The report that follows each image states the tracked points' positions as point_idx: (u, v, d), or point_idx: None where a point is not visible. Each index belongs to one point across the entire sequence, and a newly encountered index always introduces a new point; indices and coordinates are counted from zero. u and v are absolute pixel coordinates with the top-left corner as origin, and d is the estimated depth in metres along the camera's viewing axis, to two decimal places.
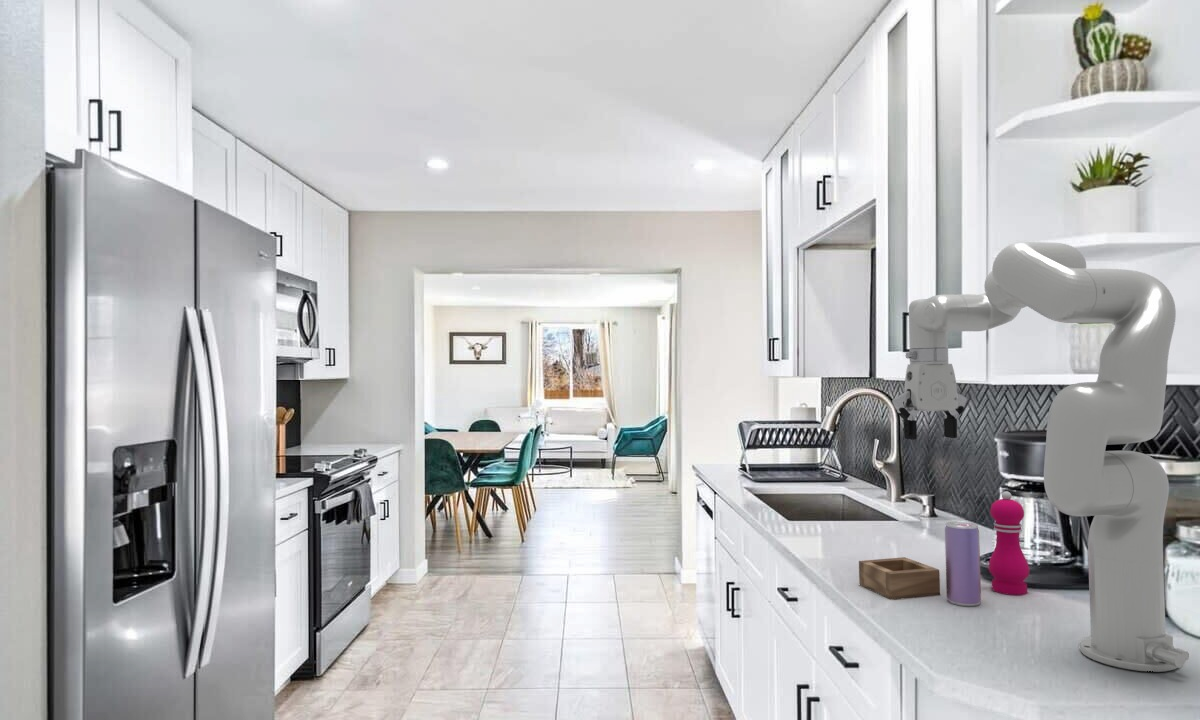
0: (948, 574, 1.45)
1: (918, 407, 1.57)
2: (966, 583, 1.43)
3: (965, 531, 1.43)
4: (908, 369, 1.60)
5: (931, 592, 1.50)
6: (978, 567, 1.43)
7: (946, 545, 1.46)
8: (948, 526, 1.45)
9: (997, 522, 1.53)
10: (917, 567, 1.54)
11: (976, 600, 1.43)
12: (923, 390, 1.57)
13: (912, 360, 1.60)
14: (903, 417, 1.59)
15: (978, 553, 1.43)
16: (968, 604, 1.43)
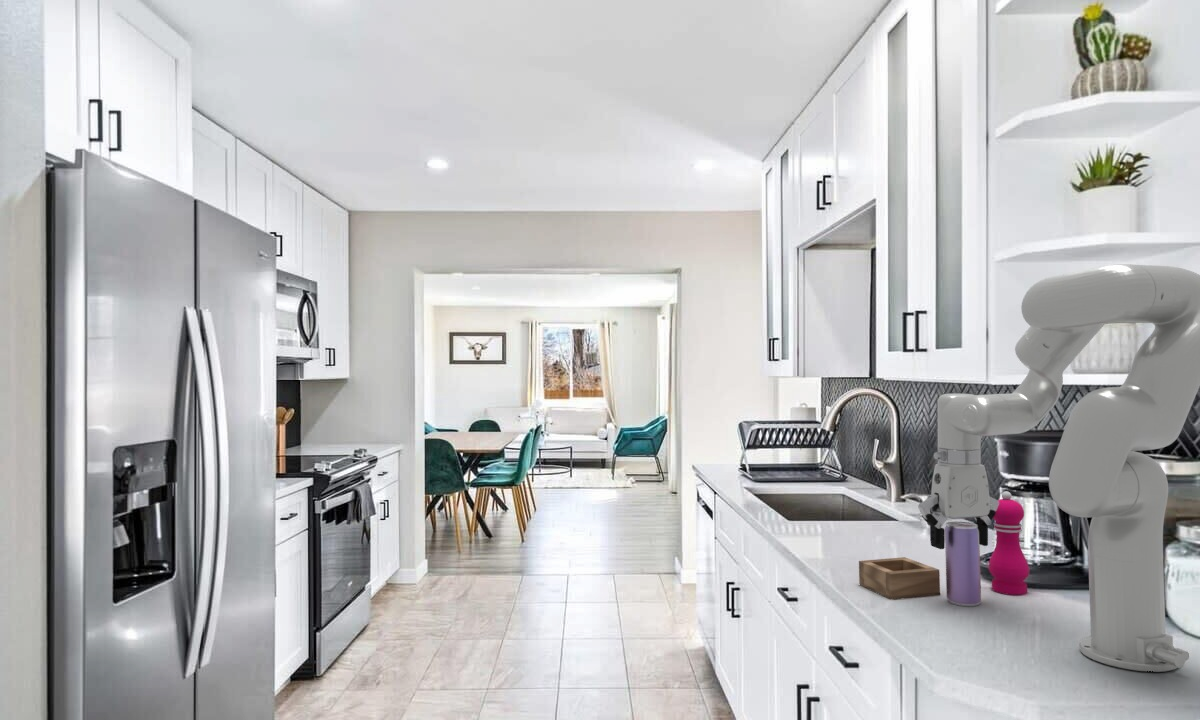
0: (948, 574, 1.45)
1: (947, 515, 1.43)
2: (966, 583, 1.43)
3: (965, 531, 1.43)
4: (936, 470, 1.46)
5: (931, 592, 1.50)
6: (978, 567, 1.43)
7: (946, 545, 1.46)
8: (948, 526, 1.45)
9: (997, 522, 1.53)
10: (917, 567, 1.54)
11: (976, 600, 1.43)
12: (953, 496, 1.43)
13: (941, 461, 1.46)
14: (930, 524, 1.45)
15: (978, 553, 1.43)
16: (968, 604, 1.43)
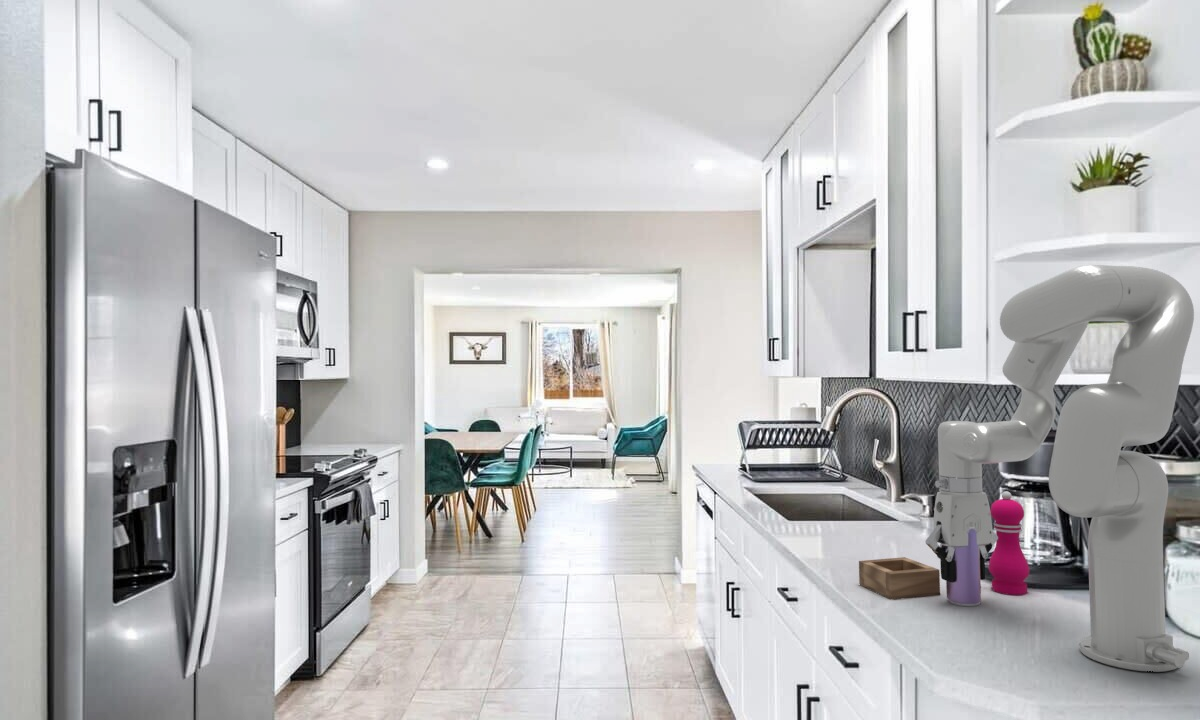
0: None
1: (949, 543, 1.42)
2: (966, 583, 1.43)
3: None
4: (938, 499, 1.45)
5: (931, 592, 1.50)
6: (978, 567, 1.43)
7: None
8: None
9: (997, 522, 1.53)
10: (917, 567, 1.54)
11: (975, 600, 1.43)
12: (956, 524, 1.42)
13: (942, 489, 1.45)
14: (940, 557, 1.45)
15: (978, 553, 1.43)
16: (968, 604, 1.43)
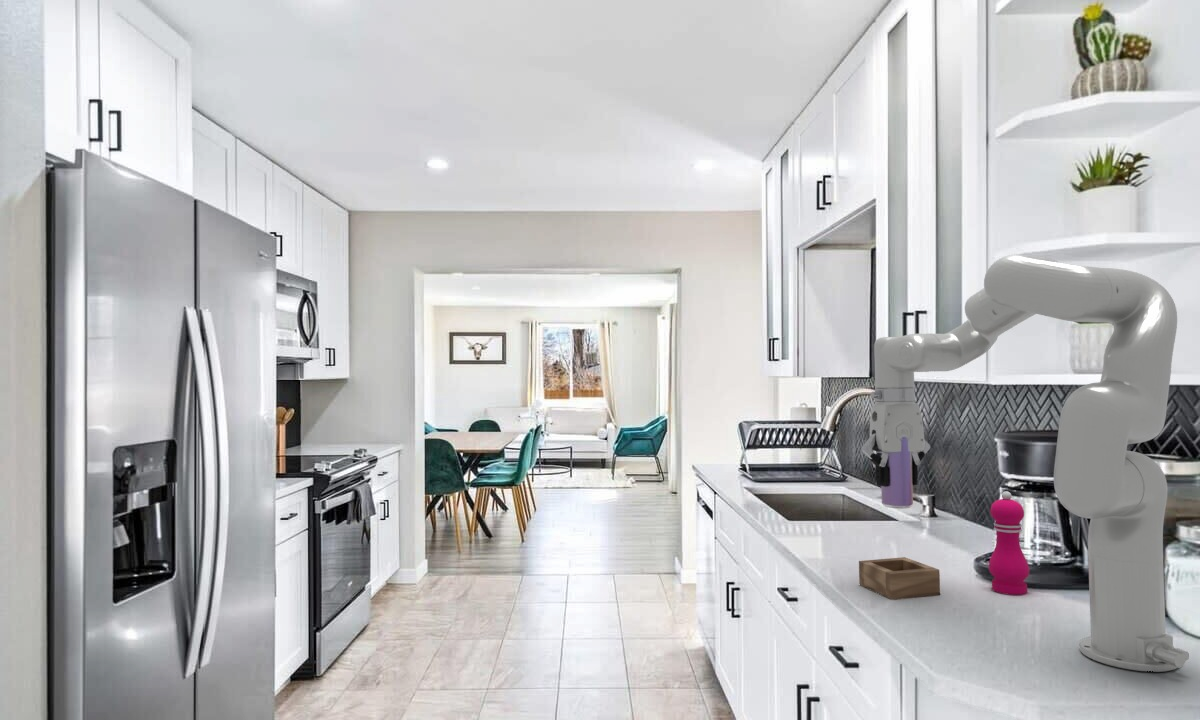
0: None
1: (883, 449, 1.52)
2: (899, 487, 1.52)
3: None
4: (873, 409, 1.55)
5: (931, 592, 1.50)
6: (910, 472, 1.53)
7: None
8: None
9: (997, 522, 1.53)
10: (917, 567, 1.54)
11: (907, 502, 1.52)
12: (888, 431, 1.52)
13: (877, 400, 1.55)
14: (875, 463, 1.54)
15: (910, 459, 1.53)
16: (900, 506, 1.52)
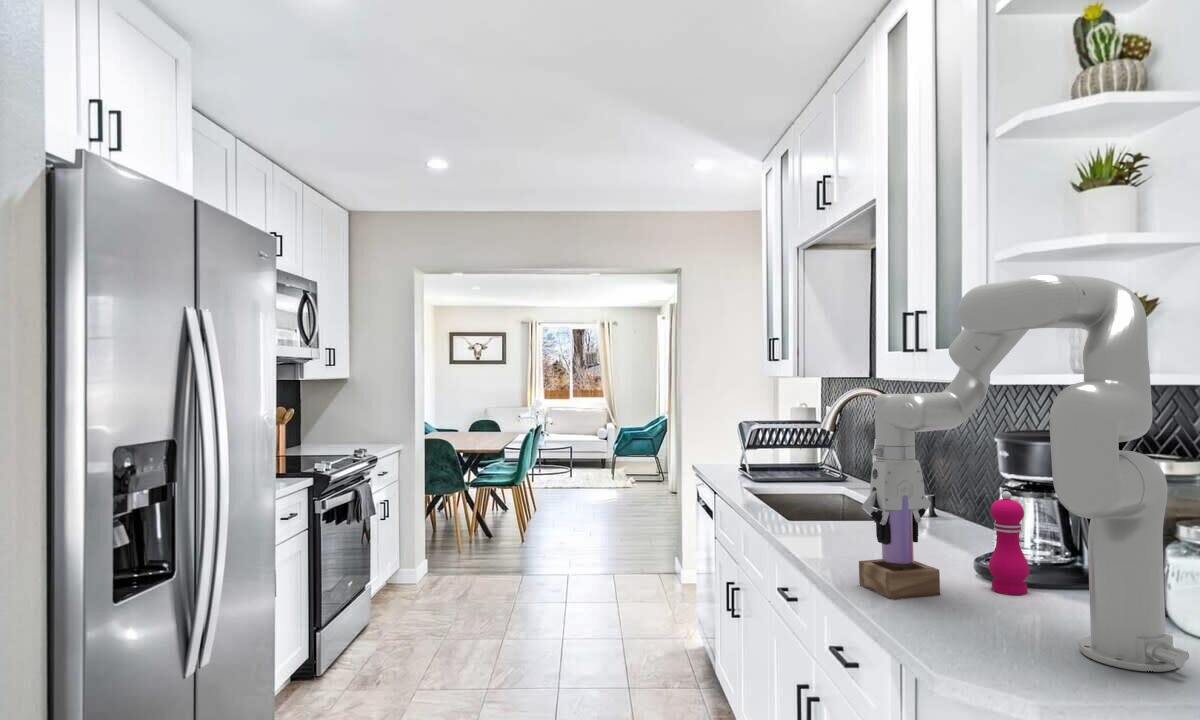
0: None
1: (883, 507, 1.51)
2: (899, 545, 1.52)
3: None
4: (874, 466, 1.55)
5: (931, 592, 1.50)
6: (910, 530, 1.53)
7: None
8: None
9: (997, 522, 1.53)
10: (917, 567, 1.54)
11: (908, 561, 1.52)
12: (889, 489, 1.52)
13: (878, 457, 1.55)
14: (875, 521, 1.54)
15: (910, 517, 1.53)
16: (901, 564, 1.52)
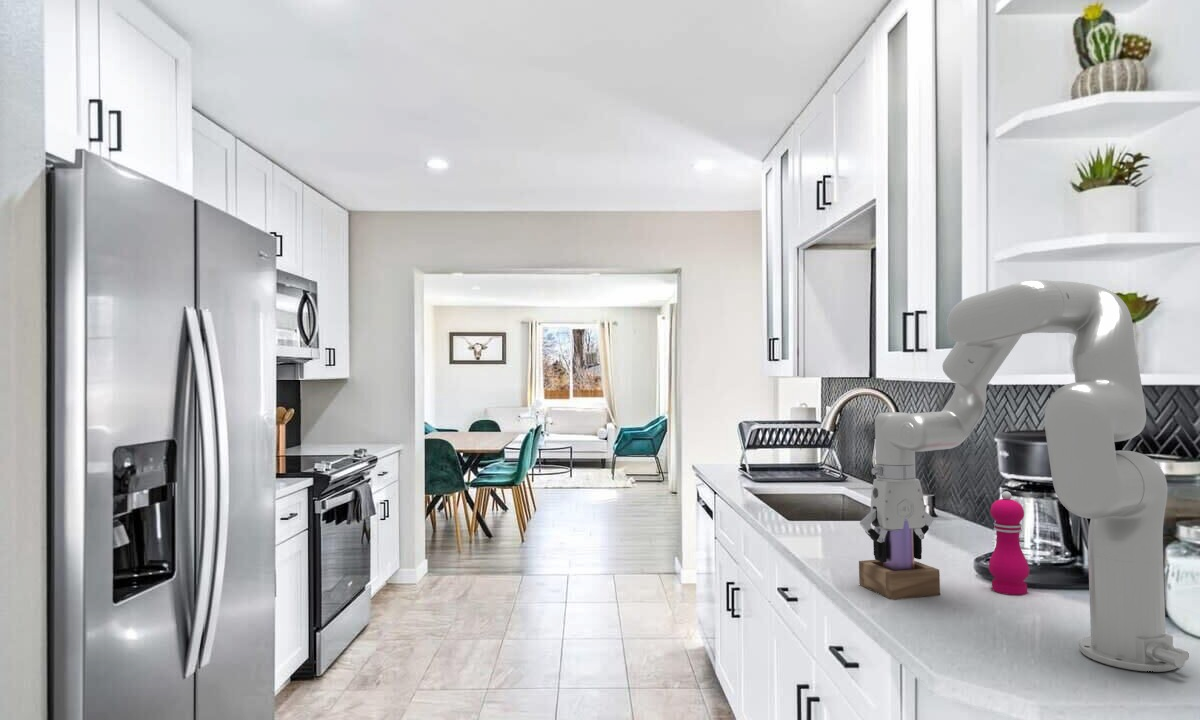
0: None
1: (884, 527, 1.51)
2: (900, 568, 1.52)
3: None
4: (874, 485, 1.55)
5: (931, 592, 1.50)
6: (911, 553, 1.52)
7: None
8: None
9: (997, 522, 1.53)
10: (917, 567, 1.54)
11: None
12: (889, 509, 1.51)
13: (878, 476, 1.54)
14: (872, 538, 1.54)
15: (911, 540, 1.53)
16: None
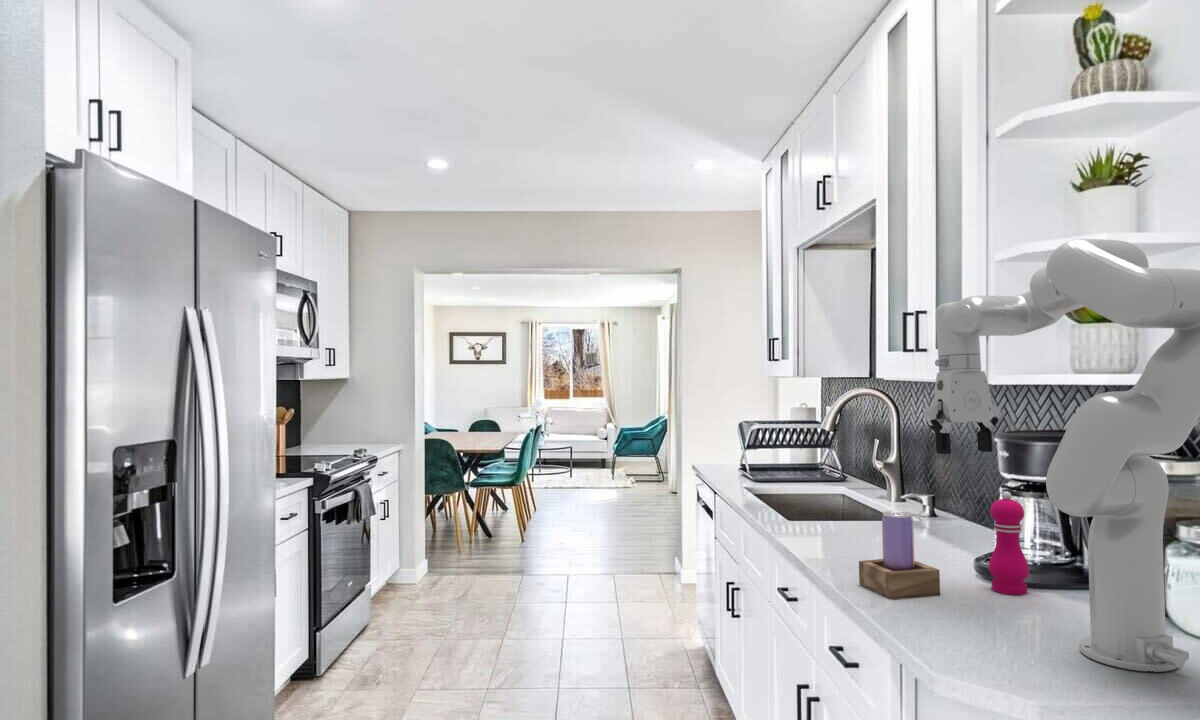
0: (884, 560, 1.54)
1: (951, 418, 1.44)
2: (900, 569, 1.52)
3: (899, 519, 1.52)
4: (938, 378, 1.48)
5: (931, 592, 1.50)
6: (912, 553, 1.52)
7: (883, 533, 1.55)
8: (885, 515, 1.54)
9: (997, 522, 1.53)
10: (917, 567, 1.54)
11: None
12: (956, 399, 1.45)
13: (942, 368, 1.48)
14: (935, 430, 1.46)
15: (912, 540, 1.52)
16: None
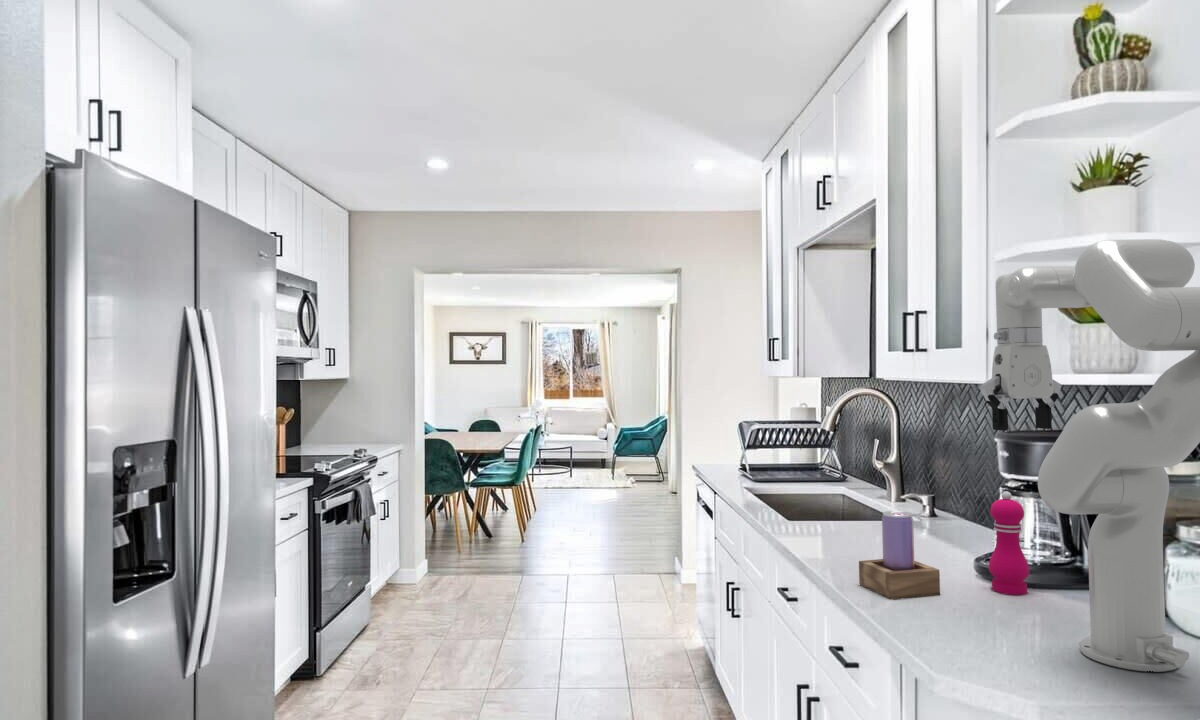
0: (884, 560, 1.54)
1: (1010, 394, 1.39)
2: (900, 569, 1.52)
3: (899, 519, 1.52)
4: (997, 352, 1.42)
5: (931, 592, 1.50)
6: (912, 553, 1.52)
7: (883, 533, 1.55)
8: (885, 515, 1.54)
9: (997, 522, 1.53)
10: (917, 567, 1.54)
11: None
12: (1016, 374, 1.39)
13: (1001, 341, 1.42)
14: (992, 405, 1.41)
15: (912, 540, 1.52)
16: None
